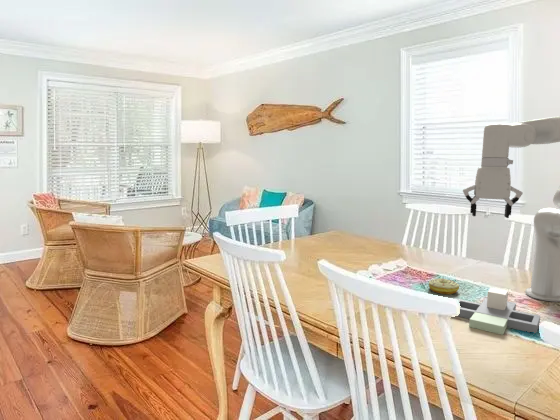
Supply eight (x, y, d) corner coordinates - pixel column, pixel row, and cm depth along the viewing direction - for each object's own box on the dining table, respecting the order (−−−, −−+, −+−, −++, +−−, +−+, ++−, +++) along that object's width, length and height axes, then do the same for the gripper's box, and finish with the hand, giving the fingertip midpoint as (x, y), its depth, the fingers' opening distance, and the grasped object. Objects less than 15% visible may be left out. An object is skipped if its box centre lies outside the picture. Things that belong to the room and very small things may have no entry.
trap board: (462, 299, 150) (462, 292, 150) (542, 315, 136) (543, 308, 136) (443, 320, 132) (443, 312, 131) (533, 341, 118) (534, 333, 117)
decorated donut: (458, 288, 163) (459, 278, 162) (458, 297, 153) (459, 287, 152) (429, 284, 166) (429, 275, 166) (427, 293, 156) (428, 283, 156)
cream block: (489, 302, 140) (491, 287, 140) (506, 305, 138) (508, 290, 137) (486, 306, 136) (487, 291, 136) (504, 310, 134) (505, 294, 133)
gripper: (522, 163, 138) (517, 216, 140) (463, 162, 143) (460, 213, 145) (527, 164, 131) (522, 220, 133) (466, 163, 136) (462, 216, 138)
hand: (490, 216), depth 139 cm, fingers open, 9 cm apart
